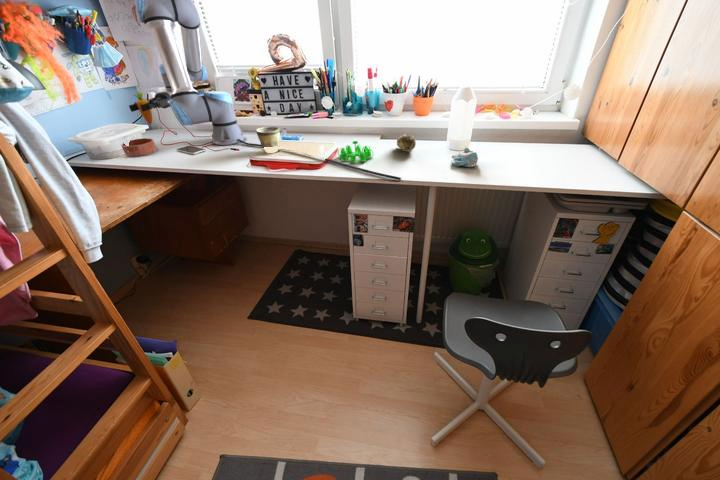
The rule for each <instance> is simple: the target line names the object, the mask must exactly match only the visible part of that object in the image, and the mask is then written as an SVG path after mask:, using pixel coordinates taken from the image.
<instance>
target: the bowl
mask: <svg viewBox="0 0 720 480" xmlns="http://www.w3.org/2000/svg"><path fill="white" fill-rule="evenodd" d="M129 141H130V142H129V146H126V145H125V144H124V142H122V143H123V144H122V143H121V144H120V146H121V149H122V150H123V153H124V155H125V156H127V157H133V158H134V157H136V158H137V157H144V156H149V155H151V154H153V153H155V152H156V151H157V150H158V147H157V145H156V142H155V140H154V138H151V137H142V138H135V139H131V140H129Z"/></svg>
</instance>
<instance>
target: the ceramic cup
mask: <svg viewBox="0 0 720 480" xmlns="http://www.w3.org/2000/svg"><path fill="white" fill-rule="evenodd" d="M255 132H256V135H257V138H258V140H259V141H260V145H262V147H261V148H262V149H263V148H264V147H274V146H278V145H279V146H280V136H281V135H280V133H281V131H280V127H278V126H264V127H260V128H256V130H255Z"/></svg>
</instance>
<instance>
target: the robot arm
mask: <svg viewBox="0 0 720 480" xmlns="http://www.w3.org/2000/svg"><path fill="white" fill-rule="evenodd" d="M134 4H135V5H134V6H135V9H136V14H137V18H138V21H139V23H142V24H144V26H145V29H147V30H149V31H150V32H151V35H152V37H153V40H154V43H155V46H156V49H157V51H158V54H159V57H160V60H161V63H160V64H159V66H158V69H159V72H160V75H161V78H162V81H163V84H164V87H165V90H164V91H159V92H156V93H155V95H154V97H152V98H148V99H147V98H144V99H145V100H147V101H148V102H149V103H146V104H143V105H140V106H141V109H142V111H147V110H150V109H151V110H152V109H156V108H157V109H160V108H161V109H168V108H170V109H171V111H172V113H173V115H174V117H175V119H176V120H177V122H178V123H179V124H180V125H181V126H186V127H187V126H194V125H199V124H205V123H207V124H208V123H211V125H212V134H211V138H212V142H213V143H212V144H213V145H215V146H216V145H217V146H230V145H236V144H240V143H242V144H244V145H246V146H252V147H253V146H254V147H261V148H262V145H261V143H260V144H259V143H252V142H251V143H250V142H247V141H245V139H246V138H245V134H244V132H243V131H242V129H241V127H240V126H239V124H238V120H237V116H236V111H235V108H234V102H233V99H232V96H231V94H230V93H228V92H227V91H219V90H218V91H217V90H206V91H203V95H200V94H199V92H198V90H196V89H195V88H194V87H193V84H192V83H193V82H203V81H207V80H208V72H207V69H206V67H205V66H204V65H203V64H202V54H201V43H200V32H199V30H200V29H199V28H200V27H201V17H200V14H199V11H198V9H197V7H196V6H195V3H194V2H193V1H192V0H134ZM176 23H177V24H178V25H179V27H180V33H181V40H182V46H183V53H184V57H183V55H182V53H181V49H180V46H179V43H178V41H177V38H176V34H175V31H174V29H175V27H176ZM184 60H185V61H184ZM185 66H186V67H187V70H186V67H185ZM190 81H192V82H190ZM136 102H137V101H135V102H133V103H132V104H129V105H128V107H129V110H130V112H131V113H133V112H137V111H140V110H139V108H138V106H137V103H136ZM324 161H325V162H329V163H332V164H336V165H339V166H342V167H346V168H349V169H351V170H352V169H353V170H356V171H360V172H364V173H367V174H371V175H376V176H380V177H384V178H387V179H393V180H398V181H401V179H402V178H401V177H399V176H395V175H390V174H386V173H382V172H377V171H373V170H369V169H366V168H361V167H357V166H353V165H350V164H347V163H343V162H339V161H336V160H334V159H329V158H326V159H325V160H324Z"/></svg>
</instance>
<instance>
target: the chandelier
mask: <svg viewBox="0 0 720 480" xmlns="http://www.w3.org/2000/svg"><path fill="white" fill-rule="evenodd" d="M352 144H353V145H354V151H353V149H352V147H351V145H349V144H348V145H346V146H345V147H340V148H339V149H338V152H337V155H338V157H339V159H340V161H342V162H347V161H348V160H349V161H350V163H351V164H354V163H355V162H356V156H359V160H360V162H362V163H365V162H366V161H367V160H371V159H372V158H373V157H374V155H372V154H374V151H373V150H372V149H371V147H370V146H369V145H364V146H363V147H361V146H360V143H359V142H358V141H357V140H353V141H352Z"/></svg>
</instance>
